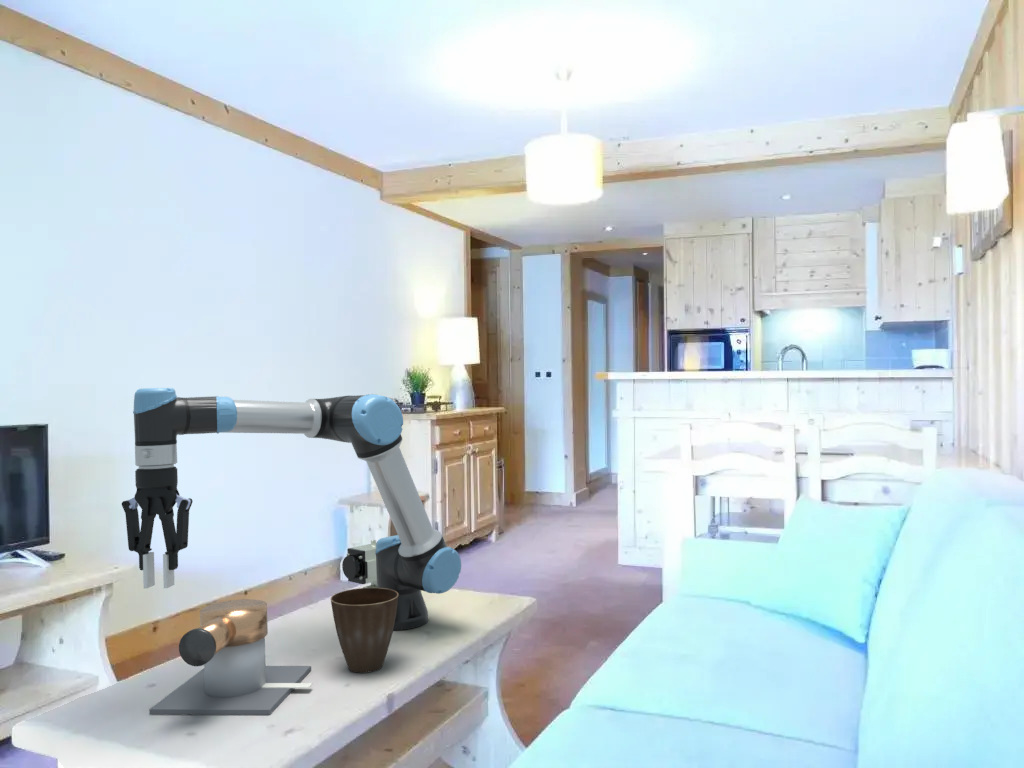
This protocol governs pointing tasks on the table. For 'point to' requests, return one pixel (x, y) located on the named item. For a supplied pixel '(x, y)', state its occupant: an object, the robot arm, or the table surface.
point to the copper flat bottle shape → (224, 629)
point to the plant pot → (364, 625)
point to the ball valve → (361, 565)
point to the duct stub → (235, 685)
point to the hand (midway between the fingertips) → (159, 586)
